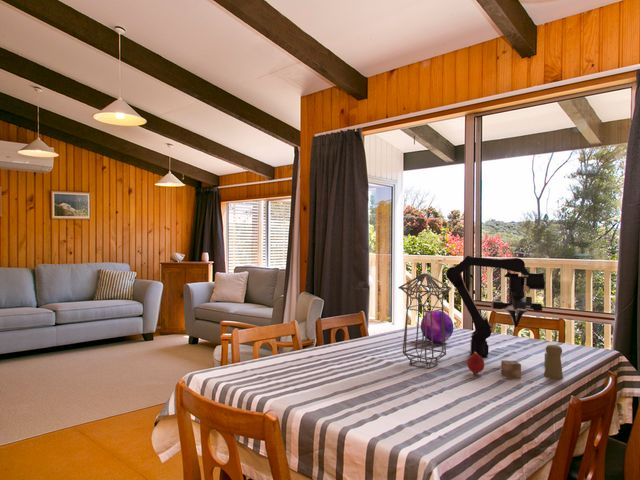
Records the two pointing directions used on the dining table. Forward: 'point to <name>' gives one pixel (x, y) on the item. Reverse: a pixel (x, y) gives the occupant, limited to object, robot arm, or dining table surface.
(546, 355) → the slate marked block
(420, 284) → the geometric lantern
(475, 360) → the onion
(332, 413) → the dining table surface
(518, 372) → the walnut marked block
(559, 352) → the cork
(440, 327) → the decorative orb
